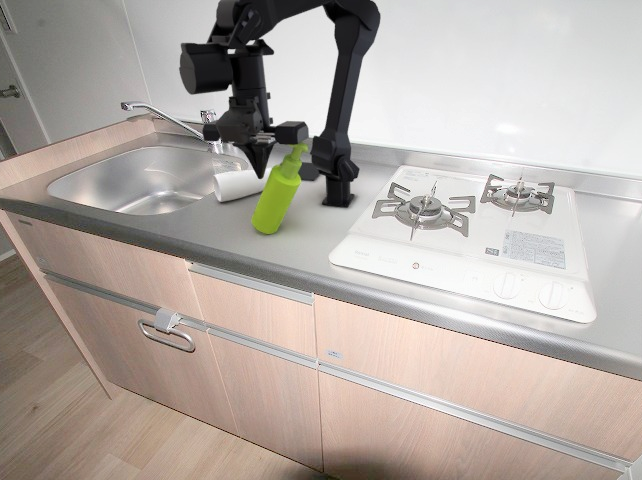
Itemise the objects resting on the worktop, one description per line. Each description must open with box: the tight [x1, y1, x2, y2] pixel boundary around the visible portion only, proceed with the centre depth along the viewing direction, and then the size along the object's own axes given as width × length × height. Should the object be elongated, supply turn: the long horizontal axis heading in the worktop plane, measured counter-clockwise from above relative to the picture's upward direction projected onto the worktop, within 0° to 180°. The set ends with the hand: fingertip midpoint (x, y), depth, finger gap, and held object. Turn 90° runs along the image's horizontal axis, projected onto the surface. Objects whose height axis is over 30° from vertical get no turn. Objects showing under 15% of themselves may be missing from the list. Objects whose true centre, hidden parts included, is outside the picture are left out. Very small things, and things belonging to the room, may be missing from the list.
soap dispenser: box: [250, 141, 309, 235], centre depth 70 cm, size 6×7×20 cm
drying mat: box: [279, 161, 320, 182], centre depth 104 cm, size 12×14×1 cm
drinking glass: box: [211, 167, 273, 203], centre depth 91 cm, size 7×7×15 cm
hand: (260, 178), depth 69 cm, fingers closed
